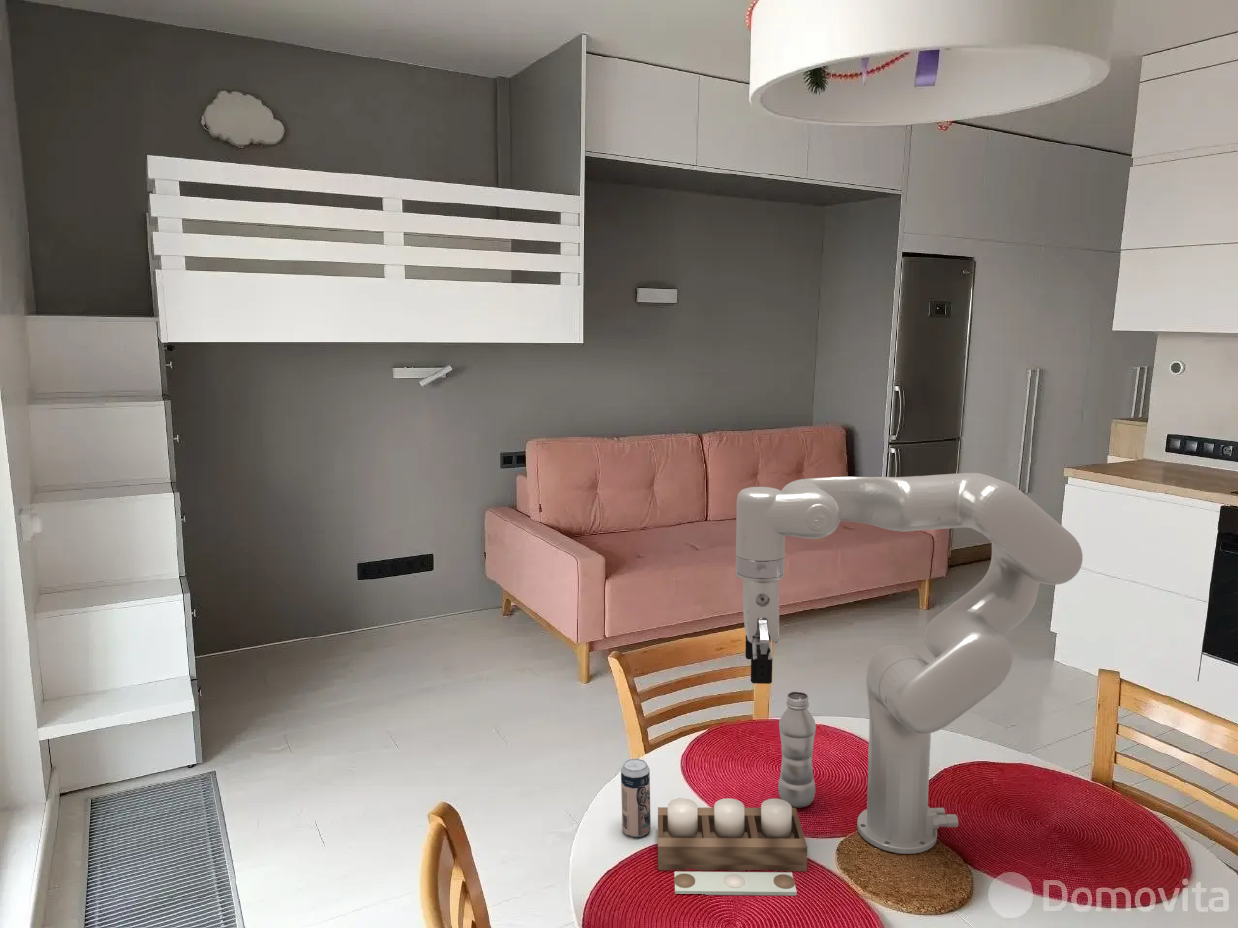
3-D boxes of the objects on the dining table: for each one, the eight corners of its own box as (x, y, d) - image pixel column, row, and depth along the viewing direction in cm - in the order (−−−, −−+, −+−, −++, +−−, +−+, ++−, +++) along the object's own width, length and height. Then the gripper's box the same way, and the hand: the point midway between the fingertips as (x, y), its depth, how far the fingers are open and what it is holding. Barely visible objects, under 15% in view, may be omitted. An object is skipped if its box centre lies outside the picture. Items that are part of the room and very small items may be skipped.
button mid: (742, 823, 140) (742, 798, 139) (745, 840, 135) (745, 814, 134) (713, 822, 140) (713, 798, 139) (715, 840, 135) (715, 814, 135)
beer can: (648, 840, 141) (646, 772, 139) (619, 837, 142) (618, 770, 140) (652, 824, 146) (651, 758, 144) (625, 821, 147) (623, 756, 145)
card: (792, 875, 131) (792, 871, 131) (797, 895, 127) (797, 890, 126) (673, 874, 132) (673, 870, 132) (674, 894, 127) (674, 889, 127)
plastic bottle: (818, 796, 153) (820, 690, 150) (810, 816, 147) (812, 706, 144) (783, 789, 156) (784, 685, 153) (773, 807, 150) (774, 700, 146)
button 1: (696, 822, 140) (696, 798, 140) (698, 840, 135) (698, 814, 135) (667, 822, 140) (667, 797, 140) (668, 839, 136) (667, 814, 135)
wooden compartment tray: (795, 829, 143) (795, 807, 142) (806, 871, 132) (807, 847, 131) (658, 829, 144) (657, 807, 143) (658, 869, 133) (657, 846, 133)
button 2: (789, 823, 140) (789, 798, 139) (793, 840, 135) (793, 814, 134) (759, 823, 140) (759, 798, 139) (763, 840, 135) (763, 814, 134)
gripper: (791, 582, 125) (789, 693, 127) (777, 552, 142) (775, 650, 145) (740, 582, 125) (738, 692, 128) (732, 552, 142) (730, 649, 145)
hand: (758, 670), depth 136 cm, fingers open, 9 cm apart
